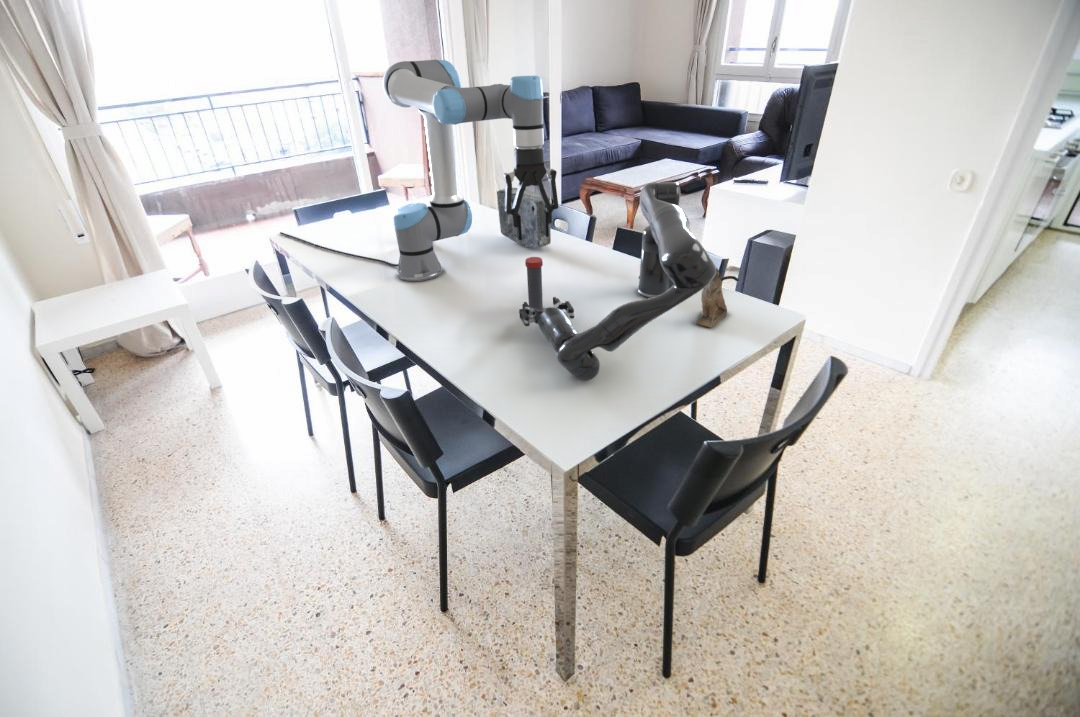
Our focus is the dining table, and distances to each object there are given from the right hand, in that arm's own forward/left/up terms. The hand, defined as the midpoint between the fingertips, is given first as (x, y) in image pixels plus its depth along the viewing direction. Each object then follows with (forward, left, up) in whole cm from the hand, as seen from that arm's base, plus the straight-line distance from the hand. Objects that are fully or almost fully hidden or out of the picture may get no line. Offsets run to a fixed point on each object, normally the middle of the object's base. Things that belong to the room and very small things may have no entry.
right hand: (539, 302), depth 140 cm
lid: (0, -6, +10) cm, 12 cm away
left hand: (0, -6, +17) cm, 18 cm away
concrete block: (-13, -65, -6) cm, 67 cm away
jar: (0, -6, -6) cm, 8 cm away
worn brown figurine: (-46, +16, -6) cm, 49 cm away
